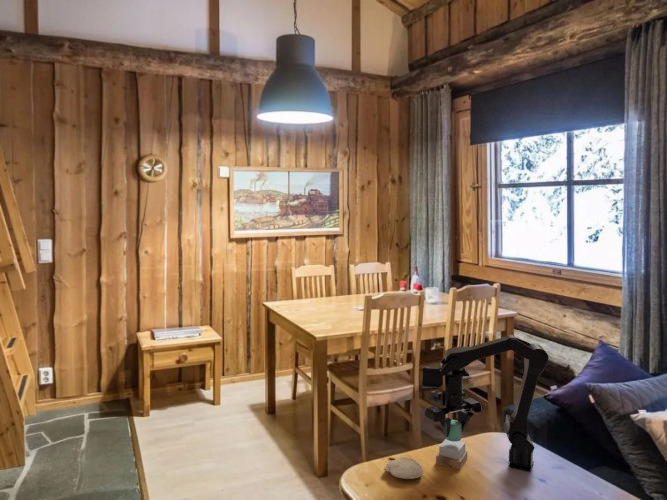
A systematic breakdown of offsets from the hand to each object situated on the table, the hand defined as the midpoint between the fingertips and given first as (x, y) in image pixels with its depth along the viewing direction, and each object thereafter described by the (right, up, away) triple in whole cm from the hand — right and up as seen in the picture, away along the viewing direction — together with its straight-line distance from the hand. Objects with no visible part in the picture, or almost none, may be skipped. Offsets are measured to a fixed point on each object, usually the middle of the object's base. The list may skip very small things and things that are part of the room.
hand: (453, 434), depth 173 cm
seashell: (-17, -10, -7) cm, 21 cm away
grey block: (0, -6, +1) cm, 6 cm away
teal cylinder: (0, -1, 0) cm, 1 cm away
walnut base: (0, -9, +1) cm, 9 cm away
